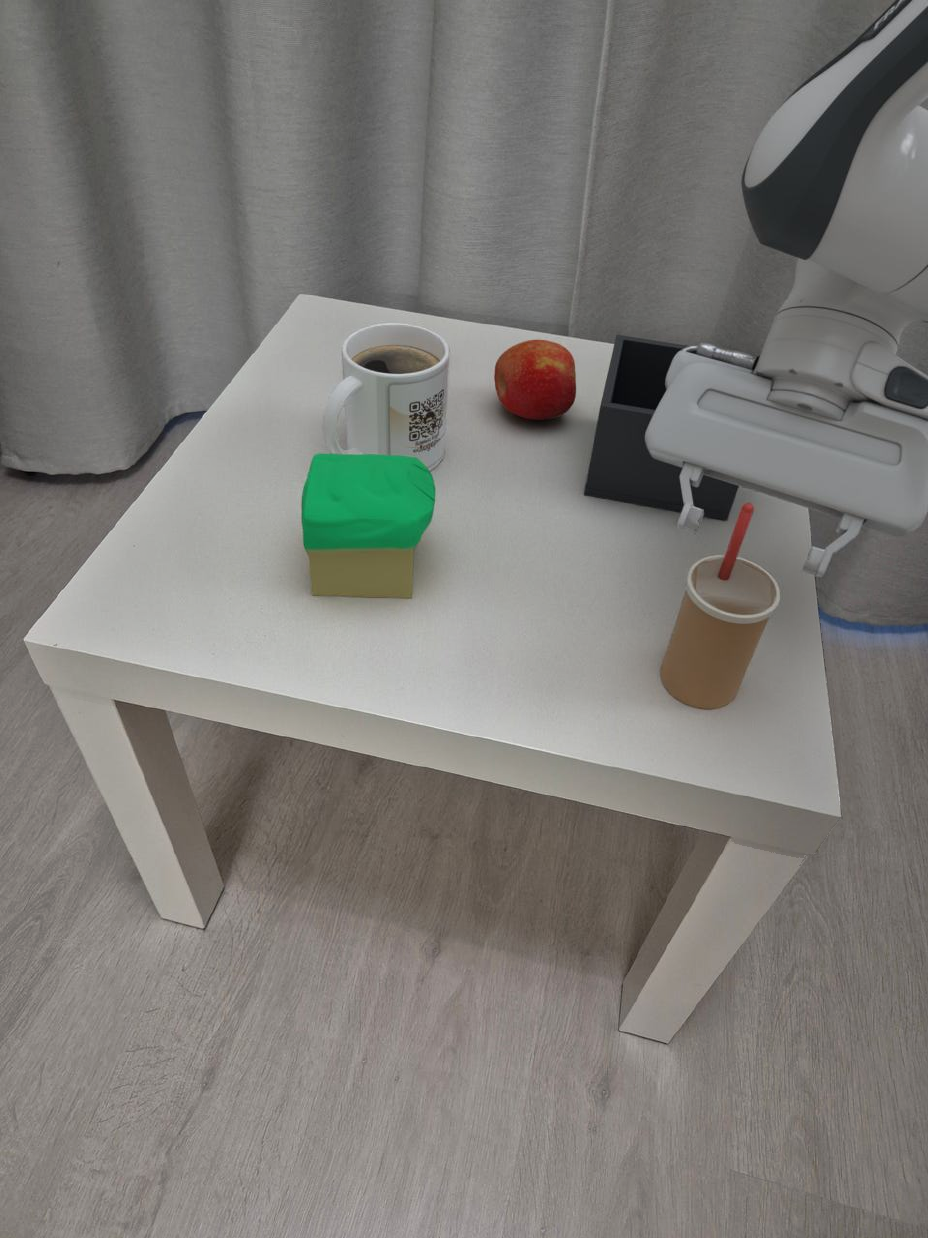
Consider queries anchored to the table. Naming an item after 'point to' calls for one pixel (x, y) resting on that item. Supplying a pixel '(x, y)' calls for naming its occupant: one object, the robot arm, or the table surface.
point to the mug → (392, 393)
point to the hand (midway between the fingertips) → (747, 551)
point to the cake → (365, 523)
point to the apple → (536, 379)
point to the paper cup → (718, 624)
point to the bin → (642, 436)
